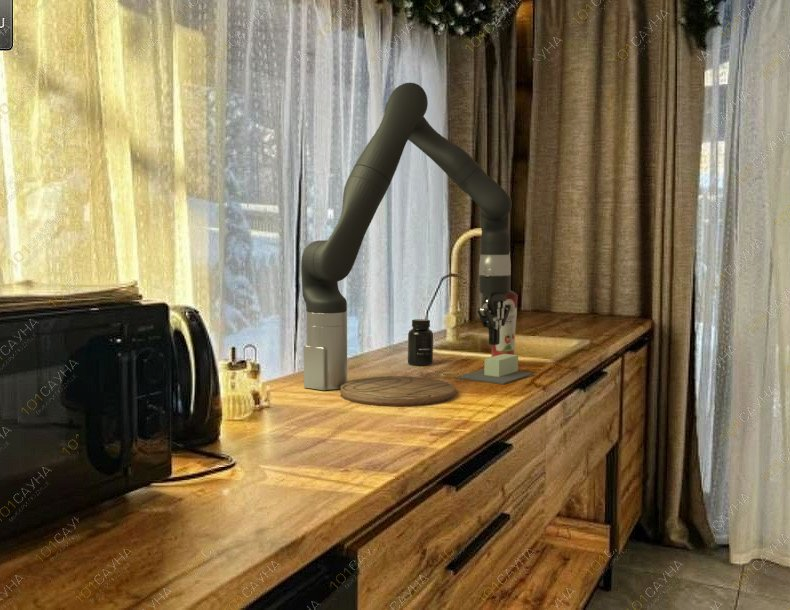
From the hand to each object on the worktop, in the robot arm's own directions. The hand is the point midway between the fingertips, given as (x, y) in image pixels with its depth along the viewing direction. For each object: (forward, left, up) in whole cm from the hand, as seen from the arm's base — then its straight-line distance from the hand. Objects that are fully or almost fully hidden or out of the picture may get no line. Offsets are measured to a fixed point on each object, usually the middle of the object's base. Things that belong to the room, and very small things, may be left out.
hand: (494, 344), depth 184 cm
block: (-1, 0, -6) cm, 6 cm away
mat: (+1, 0, -8) cm, 8 cm away
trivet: (-30, +7, -9) cm, 32 cm away
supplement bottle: (+5, +25, -8) cm, 27 cm away
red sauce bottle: (+16, +6, -8) cm, 19 cm away
